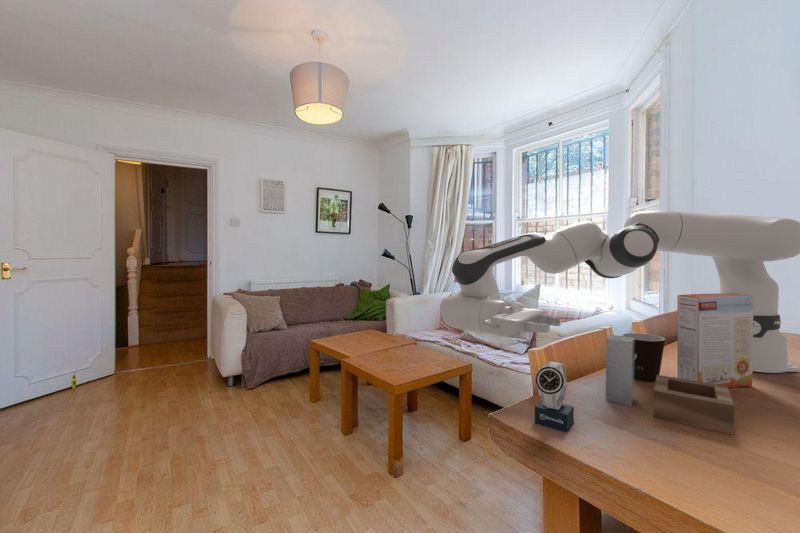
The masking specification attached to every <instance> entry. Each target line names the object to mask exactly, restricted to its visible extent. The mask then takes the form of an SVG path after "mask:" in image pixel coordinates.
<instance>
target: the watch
mask: <svg viewBox="0 0 800 533" xmlns="http://www.w3.org/2000/svg"><path fill="white" fill-rule="evenodd" d="M567 381H568V380H567V370H566V365H565V364H564V363H563V362H562V363H561V362H557V361H556V362H555V361H552V360H551V361H548V362H546V363H544V365H542V367H541V368H540V369H539V370H538V371H537V372H536V374H535V378H534V383H535V386H536V388H537V392H538V395H539V397H540V398H541V400H540V401H538V402H537V404H535V405H534V424H536V425H539V426H543V427H546V428H549V429H553V430H557V431H559V432H563V433H567V434H568V433H569V431H570V429H571V428H572V426H573V425H574V421H575V417H574V416H575V412H574V411H575V406H574V405H570V404H566V403H563V401H565V398H566V394H567V392H566V391H567V388H568V387H569V382H567Z"/></svg>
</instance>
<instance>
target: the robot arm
mask: <svg viewBox="0 0 800 533" xmlns="http://www.w3.org/2000/svg"><path fill="white" fill-rule="evenodd" d="M657 251H660V252H666V253H667V252H669V253H678V254H687V255H694V256H704V257H705V256H706V257H711V258H712V260H713V261H714V265H715V267H716V268H715V269H716V271H717V275H718V278H719V284H720V293H737V294H745V295H753V372H757V373H769V374H777V373H778V374H779V373H780V374H782V373H788V372H790V373H791V372H792V373H794V372H796V373H798V372H799V367H798V366H796V365H794V364H793V363H791V362H790V357H789V356H790V353H789V348H790V347H789V338H788V337H787V336H785V335H784V334H783V333H782V332H780V329H781V323H782V320H781V315H780V314H779V284H778V283H777V281H776V280H775V279H774V278H773V277H772V276H771V275H770V274H769V272H768V271H767V268H766V266H765V262H775V261H776V262H777V261H781V260H782V261H783V260H787V259H790V258H795V257H797V256H798V255H800V222H799V221H798V220H795V219H791V218H784V217H771V216H759V215H758V216H757V215H755V216H754V215H734V214H706V213H696V212H695V213H694V212H686V211H685V212H684V211H676V210H659V209H657V210H639V211H636V212H634V213H632V214H630V215H629V216H628V217H627V219H626V220H625V222H624V226H623V228H621V229H619V230H617V231H615V233H613V234H611V235H610V236H609V234H606V233H604V232H603V230H602V229H601V227H599V225H598V224H596V223H595V222H594V221H590V220H583V221H579V222H575V223H572V224H569V225H567V226H566V225H565V226H564V227H562V228H559V229H558V230H555V231H553V232H551V233H548V234H541V233H539V232H528V233H523V234H520V235H518V236H515V237H511V238H508V239H504V240H502V241H499V242H495V243H493V244H490V245H489V244H488V245H487V246H484V247H478V248H473V249H468V250H465V251H462V252H461V253H459V254H458V255H457V256H456V258H455V260H454V262H453V264H452V265H451V266H452V267H451V271H452V274H453V276H454V277H455V279H456V281H457V283H458V284H459V287H460V290H459V292H457V293H456V294H454V295H451V296H445V297H444V298H442V300H441V303H440V305H439V306H440V307H439V310H440V312H439V313H440V316H441V319H442V321H443V323H444V324H445V325H447V326H449V327H452V328H456V329H459V330H463V331H471V332H472V331H477V332H479V333H483V334H487V335H493V336H500V337H503V336H505V335H506V336H509V337H522V336H523V335H525V334H528V333H544V334H548V333H549V332H550V331H551V326H553V327H560V326H562V322H563V321H562V320H563V319H562V318H560V317H555V316H550V315H547V311H546V310H545V309H542V308H537V307H532V306H526V305H520V304H517V302H515V301H507V300H500V297H501V296H500V295H501V294H500V290H499V286H498V283H497V280H496V278H495V274H494V272H493V268H494V267H495V266H496V265H499V264H501V263H504V262H507V261H511V260H513V259H516V258H519V257H527V259H528V260H530V261H531V263H532V264H534V266H535V267H537V268H538V269H539V270H541V271H543V272H545V273H548V274H553V275H555V274H560V273H564V272H565V271H568V270H569V269H571V268H573V267H576V266H577V265H580V264H581V263H584V262H585V264H586V265H588V266H589V267H590V269H591V270H592V272H593V273H595V274H596V275H597V276H599V277H601V278H604V279H617V278H620V277H622V276H625V275H627V274H630V273H633V272H634V271H636V270H638V269H639V268H641V267H644V266H645V265H647V264H648V263H650V262H651V261H652V260H653V258H654V256H656V253H657Z"/></svg>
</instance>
